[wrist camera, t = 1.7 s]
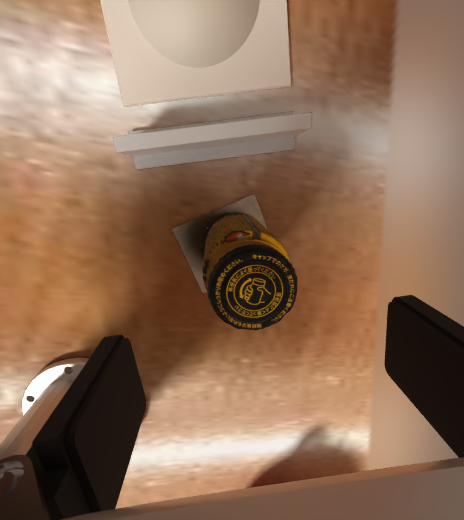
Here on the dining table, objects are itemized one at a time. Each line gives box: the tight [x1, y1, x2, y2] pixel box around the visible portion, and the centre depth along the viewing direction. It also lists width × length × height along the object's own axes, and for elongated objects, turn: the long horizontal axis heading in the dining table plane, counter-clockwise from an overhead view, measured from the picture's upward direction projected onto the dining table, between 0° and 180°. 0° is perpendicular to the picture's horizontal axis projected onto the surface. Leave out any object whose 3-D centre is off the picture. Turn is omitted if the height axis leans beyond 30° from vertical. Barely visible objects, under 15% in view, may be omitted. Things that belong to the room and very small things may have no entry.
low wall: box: [113, 111, 312, 170], centre depth 22 cm, size 3×14×5 cm, turn 97°
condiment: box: [172, 194, 297, 330], centre depth 21 cm, size 7×8×12 cm
